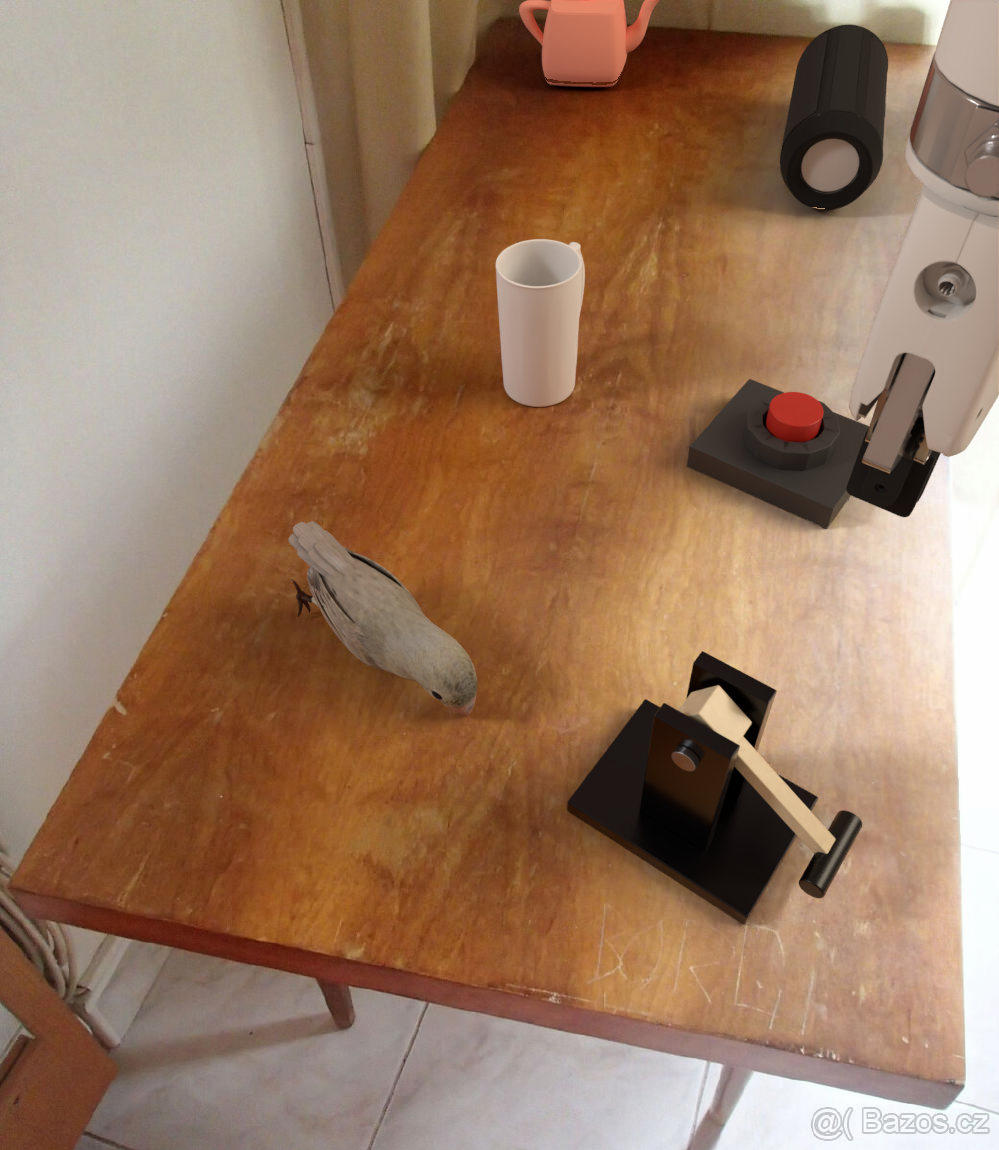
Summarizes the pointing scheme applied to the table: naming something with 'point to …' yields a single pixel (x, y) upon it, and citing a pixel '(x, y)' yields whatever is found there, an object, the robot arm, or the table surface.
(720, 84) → the table surface
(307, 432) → the table surface
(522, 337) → the mug
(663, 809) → the lever stand
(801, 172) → the portable speaker
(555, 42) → the teapot
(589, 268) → the table surface
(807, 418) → the red button
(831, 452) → the control block
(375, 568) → the decorative bird
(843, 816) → the lever handle
